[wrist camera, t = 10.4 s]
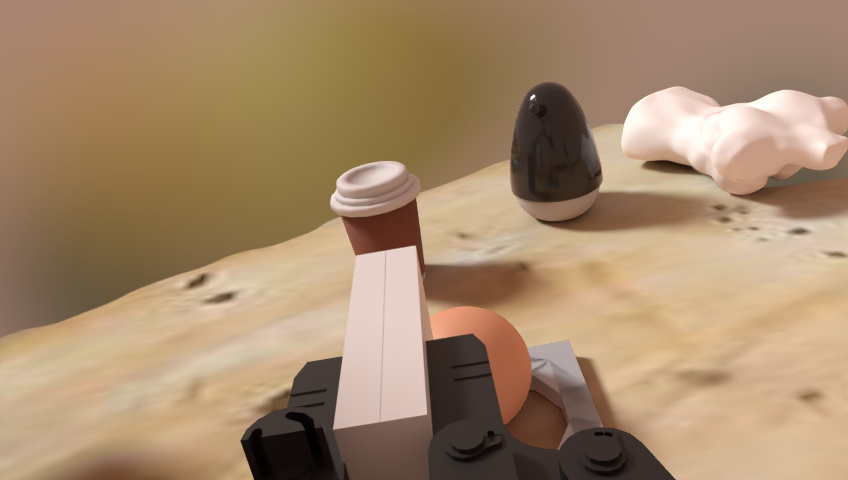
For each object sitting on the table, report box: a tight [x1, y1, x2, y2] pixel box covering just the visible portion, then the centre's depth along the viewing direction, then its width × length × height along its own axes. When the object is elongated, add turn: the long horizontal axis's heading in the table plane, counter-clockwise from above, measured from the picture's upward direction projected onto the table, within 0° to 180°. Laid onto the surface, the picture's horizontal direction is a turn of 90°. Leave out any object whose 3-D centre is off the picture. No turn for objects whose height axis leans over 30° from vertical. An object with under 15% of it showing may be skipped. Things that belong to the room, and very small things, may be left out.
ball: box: [430, 306, 532, 425], centre depth 47 cm, size 9×9×9 cm
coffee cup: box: [331, 161, 426, 281], centre depth 68 cm, size 9×9×12 cm
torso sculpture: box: [621, 87, 848, 195], centre depth 74 cm, size 18×10×25 cm
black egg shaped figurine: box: [510, 82, 603, 221], centre depth 74 cm, size 10×10×15 cm
